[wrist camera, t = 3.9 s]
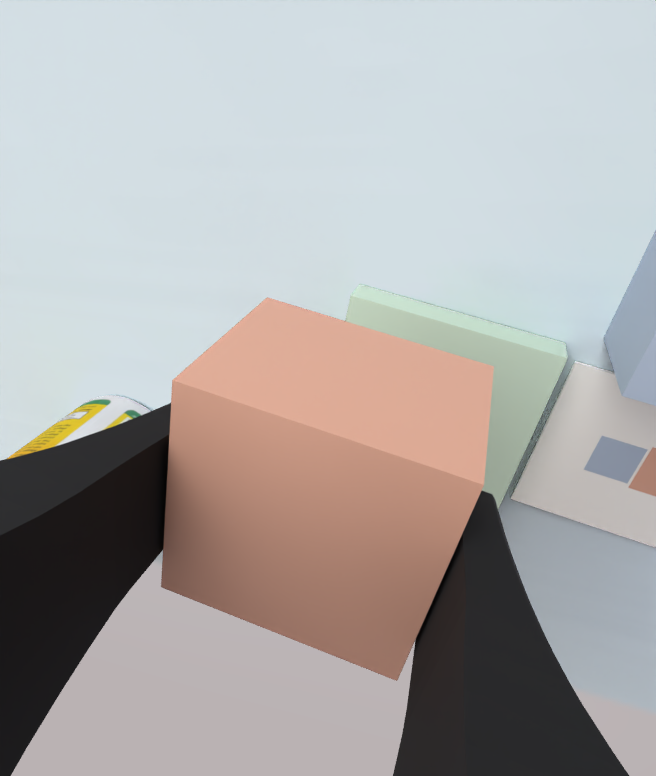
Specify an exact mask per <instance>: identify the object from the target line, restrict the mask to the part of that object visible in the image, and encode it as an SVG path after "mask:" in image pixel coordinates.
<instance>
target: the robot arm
mask: <svg viewBox="0 0 656 776" xmlns="http://www.w3.org/2000/svg"><path fill="white" fill-rule="evenodd" d="M170 417H171V403H170V404H168V405H165V406H163V407H160V408H158V409H156V410H153V411H151V412H148V413H146V414H143V415H141V416H138V417H136V418H133V419H131V420H128V421H126V422H123V423H121V424H118V425H116V426H113V427H110V428H107V429H105V430H102V431H99V432H96V433H93V434H90V435H87V436H85V437H82V438H79V439H76V440H73V441H70V442H67V443H64V444H61V445H58V446H54V447H51V448H48V449H44V450H41V451H37V452H33V453H29V454H25V455H21V456H18V457H14V458H10V459H5V460H1V461H0V776H11V774H12V772H13V771H14V769H15V767H16V765H17V763H18V762H19V760H20V758H21V757H22V755H23V753H24V751H25V749H26V748H27V746H28V745H29V743H30V741H31V740H32V738H33V736H34V735H35V733H36V732H37V730H38V728H39V727H40V725H41V723H42V722H43V720H44V718H45V717H46V715H47V714H48V712H49V710H50V709H51V707H52V705H53V704H54V702H55V700H56V699H57V697H58V695H59V694H60V692H61V691H62V689H63V688H64V686H65V684H66V683H67V681H68V680H69V678H70V676H71V675H72V673H73V672H74V670H75V669H76V667H77V666H78V664H79V662H80V661H81V659H82V658H83V656H84V655H85V653H86V652H87V650H88V648H89V647H90V646H91V644H92V643H93V641H94V640H95V638H96V636H97V635H98V634H99V632H100V631H101V629H102V628H103V626H104V625H105V623H106V622H107V620H108V619H109V617H110V616H111V614H112V613H113V611H114V609H115V608H116V607H117V606H118V604H119V603H120V602H121V600H122V599H123V598H124V597H125V595H126V594H127V593H128V591H129V590H130V589H131V587H132V586H133V585H134V584H135V583H136V581H137V580H138V579H139V578H140V577H141V575H142V574H143V573H144V572H145V571H146V569H147V568H148V567H149V566H150V565H151V563H152V562H153V561H154V560H155V559H156V557H157V556H158V555H159V554H160V552H161V551H162V550H163V545H164V527H165V508H166V490H167V472H168V453H169V435H170ZM393 776H629V775H628V773H627V772H626V771H625V769H624V767H623V766H622V765H621V764H620V762H619V760H618V759H617V757H616V756H615V754H614V753H613V752H612V750H611V748H610V747H609V745H608V744H607V742H606V741H605V739H604V738H603V736H602V735H601V733H600V731H599V730H598V728H597V727H596V725H595V724H594V722H593V720H592V719H591V717H590V716H589V714H588V713H587V711H586V710H585V708H584V707H583V705H582V703H581V702H580V700H579V698H578V696H577V695H576V693H575V691H574V690H573V688H572V686H571V684H570V683H569V681H568V679H567V677H566V675H565V673H564V672H563V670H562V668H561V666H560V664H559V662H558V660H557V659H556V657H555V655H554V653H553V651H552V649H551V647H550V645H549V643H548V641H547V639H546V637H545V635H544V632H543V630H542V628H541V626H540V624H539V622H538V619H537V617H536V615H535V613H534V610H533V608H532V606H531V604H530V601H529V599H528V596H527V594H526V591H525V589H524V586H523V584H522V581H521V578H520V576H519V573H518V571H517V568H516V565H515V563H514V560H513V557H512V554H511V551H510V548H509V545H508V542H507V539H506V536H505V533H504V529H503V526H502V523H501V519H500V515H499V512H498V508H497V504H496V500H495V498H494V496H493V494H490V493H487V492H485V491H481V493H480V495H479V497H478V500H477V502H476V504H475V506H474V509H473V511H472V513H471V515H470V518H469V520H468V522H467V524H466V527H465V529H464V531H463V533H462V536H461V538H460V540H459V542H458V545H457V547H456V549H455V551H454V554H453V556H452V558H451V560H450V563H449V565H448V567H447V569H446V572H445V574H444V576H443V578H442V581H441V583H440V585H439V587H438V590H437V592H436V594H435V596H434V599H433V601H432V603H431V606H430V608H429V610H428V612H427V615H426V617H425V619H424V621H423V624H422V626H421V628H420V630H419V633H418V635H417V637H416V641H415V650H414V657H413V665H412V673H411V681H410V689H409V696H408V704H407V711H406V717H405V723H404V728H403V734H402V738H401V743H400V748H399V752H398V757H397V761H396V765H395V770H394V774H393Z"/></svg>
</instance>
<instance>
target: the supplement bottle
mask: <svg viewBox="0 0 656 776" xmlns="http://www.w3.org/2000/svg"><path fill="white" fill-rule="evenodd" d="M148 412H151V411H150V410H149V409H147V408H146V407H144V406H143V405H141V404H139V403H138V402H136V401H133V400H131V399H128V398H125V397H120V396H114V395H107V396H100V397H96V398H94V399H91V400H89V401H87V402H85V403H84V404H83V405H81V406H80V407H78V408H77V409H76V410H74V411H73V412H71V413H70V414H68V415H67V416H66V417H64V418H63V419H61V420H60V421H58V422H57V423H56V424H54V425H53V426H52V427H50V428H49V429H47V430H46V431H45V432H43V433H42V434H40V435H39V436H38V437H36V438H35V439H34V440H32V441H31V442H29V443H28V444H27V445H25V446H24V447H22V448H21V449H20V450H18V451H17V452H15V453H14V454H13V455H11V456H10V457H9V458H7V459H10V458H14V457H18V456H21V455H25V454H29V453H33V452H37V451H41V450H44V449H48V448H51V447H54V446H58V445H61V444H64V443H67V442H70V441H73V440H76V439H79V438H82V437H85V436H87V435H90V434H93V433H96V432H99V431H102V430H105V429H107V428H110V427H113V426H116V425H118V424H121V423H123V422H126V421H128V420H131V419H133V418H136V417H138V416H141V415H143V414H146V413H148Z"/></svg>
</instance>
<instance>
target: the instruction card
mask: <svg viewBox="0 0 656 776" xmlns="http://www.w3.org/2000/svg"><path fill="white" fill-rule="evenodd" d="M511 499H512V500H515V501H518V502H521V503H524V504H527V505H530V506H533V507H536V508H539V509H542V510H545V511H548V512H551V513H554V514H557V515H560V516H563V517H566V518H569V519H572V520H575V521H578V522H581V523H584V524H587V525H590V526H593V527H596V528H598V529H601V530H604V531H607V532H610V533H613V534H616V535H619V536H622V537H625V538H628V539H631V540H634V541H637V542H640V543H643V544H646V545H649V546H652V547H655V548H656V406H654V405H651V404H647V403H644V402H641V401H637V400H634V399H630V398H627V397H624V396H622V395H621V392H620V389H619V386H618V382H617V379H616V376H615V373H614V372H611V371H608V370H605V369H601V368H598V367H594V366H591V365H587V364H584V363H580V362H577V361H574V364H573V366H572V368H571V370H570V372H569V374H568V376H567V379H566V381H565V383H564V385H563V387H562V389H561V391H560V393H559V396H558V398H557V400H556V402H555V404H554V406H553V408H552V410H551V413H550V415H549V417H548V419H547V421H546V423H545V425H544V428H543V430H542V432H541V434H540V436H539V438H538V440H537V442H536V445H535V447H534V449H533V451H532V453H531V455H530V457H529V459H528V462H527V464H526V466H525V468H524V470H523V472H522V474H521V477H520V479H519V481H518V483H517V485H516V487H515V489H514V491H513V494H512V496H511Z"/></svg>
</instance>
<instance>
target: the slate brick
mask: <svg viewBox="0 0 656 776" xmlns="http://www.w3.org/2000/svg"><path fill="white" fill-rule="evenodd" d="M604 341H605V344H606V347H607V350H608V354H609V357H610V360H611V363H612V366H613V370H614V373H615V376H616V379H617V382H618V386H619V389H620V392H621V395H622V396H624V397H627V398H630V399H634V400H637V401H641V402H644V403H647V404H651V405H654V406H656V230H655V232H654V235H653V237H652V239H651V241H650V243H649V245H648V247H647V249H646V251H645V253H644V255H643V257H642V259H641V261H640V264H639V266H638V268H637V270H636V272H635V274H634V276H633V278H632V280H631V282H630V284H629V286H628V288H627V290H626V292H625V295H624V297H623V299H622V301H621V303H620V305H619V307H618V309H617V311H616V313H615V315H614V317H613V319H612V321H611V323H610V326H609V328H608V330H607V332H606V334H605V336H604Z"/></svg>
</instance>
